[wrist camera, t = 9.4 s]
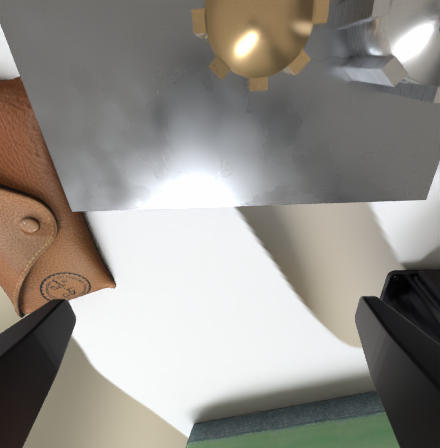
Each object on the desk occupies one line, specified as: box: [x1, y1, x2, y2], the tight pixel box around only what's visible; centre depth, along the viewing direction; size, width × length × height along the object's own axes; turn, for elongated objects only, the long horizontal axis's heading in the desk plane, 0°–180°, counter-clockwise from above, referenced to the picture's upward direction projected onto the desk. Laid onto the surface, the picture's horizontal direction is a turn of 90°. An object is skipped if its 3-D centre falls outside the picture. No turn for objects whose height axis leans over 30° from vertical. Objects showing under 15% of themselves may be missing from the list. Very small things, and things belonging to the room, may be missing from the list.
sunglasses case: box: [0, 77, 116, 318], centre depth 20 cm, size 18×7×7 cm
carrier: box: [0, 0, 440, 212], centre depth 12 cm, size 20×24×6 cm
